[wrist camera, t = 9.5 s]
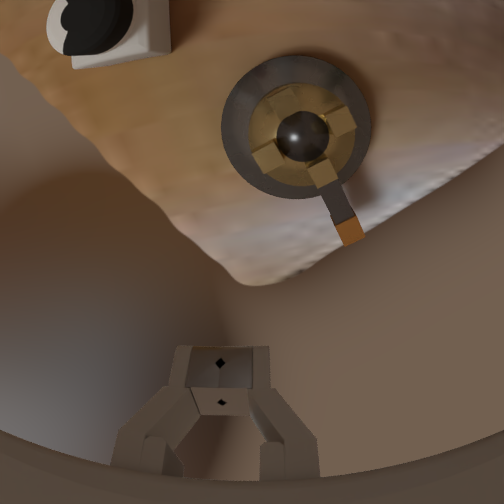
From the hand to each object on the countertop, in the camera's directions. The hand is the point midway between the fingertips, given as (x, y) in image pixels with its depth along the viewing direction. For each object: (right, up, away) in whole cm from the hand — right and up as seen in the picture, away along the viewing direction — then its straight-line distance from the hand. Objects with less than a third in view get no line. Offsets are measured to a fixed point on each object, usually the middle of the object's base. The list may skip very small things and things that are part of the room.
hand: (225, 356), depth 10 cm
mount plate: (+5, +16, +19) cm, 26 cm away
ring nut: (+7, +12, +19) cm, 23 cm away
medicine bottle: (-10, +25, +14) cm, 31 cm away
